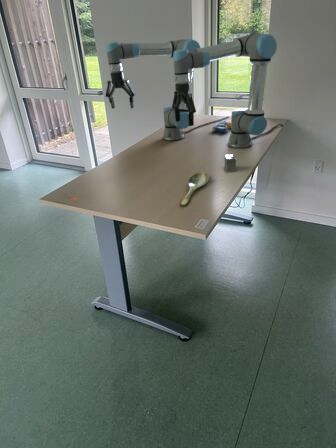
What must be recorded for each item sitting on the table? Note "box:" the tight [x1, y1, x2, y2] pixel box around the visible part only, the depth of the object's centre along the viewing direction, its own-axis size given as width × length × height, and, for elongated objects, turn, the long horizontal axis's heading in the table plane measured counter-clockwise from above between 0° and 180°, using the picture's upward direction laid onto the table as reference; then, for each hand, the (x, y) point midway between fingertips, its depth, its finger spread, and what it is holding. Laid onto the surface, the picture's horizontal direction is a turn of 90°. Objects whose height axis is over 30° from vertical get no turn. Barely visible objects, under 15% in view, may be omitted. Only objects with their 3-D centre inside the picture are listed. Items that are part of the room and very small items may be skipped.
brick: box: [224, 153, 237, 173], centre depth 188 cm, size 7×5×8 cm
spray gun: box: [211, 120, 231, 133], centre depth 256 cm, size 21×4×15 cm
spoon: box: [180, 171, 210, 207], centre depth 170 cm, size 35×11×2 cm, turn 159°
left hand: (122, 108), depth 210 cm, fingers open, 13 cm apart
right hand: (184, 123), depth 187 cm, fingers open, 13 cm apart
